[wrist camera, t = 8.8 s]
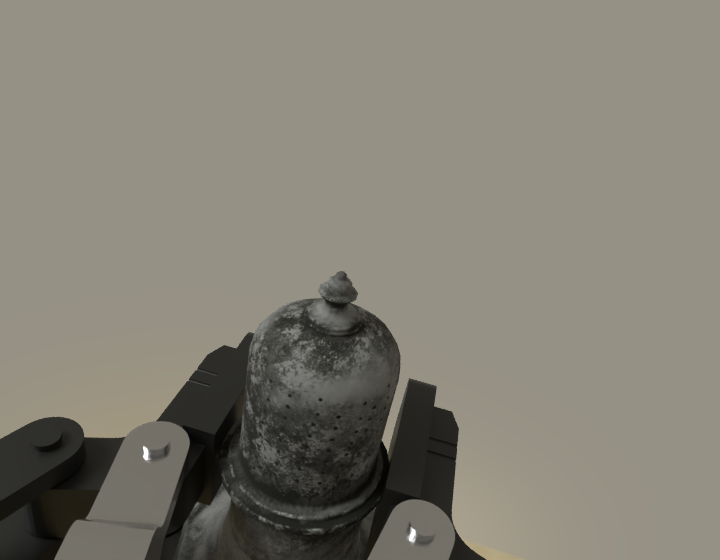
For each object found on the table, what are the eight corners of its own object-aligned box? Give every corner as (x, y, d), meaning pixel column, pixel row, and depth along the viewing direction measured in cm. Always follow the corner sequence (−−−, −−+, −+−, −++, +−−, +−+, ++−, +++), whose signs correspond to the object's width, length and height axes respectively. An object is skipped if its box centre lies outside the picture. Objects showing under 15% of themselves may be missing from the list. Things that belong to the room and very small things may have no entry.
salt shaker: (165, 551, 17) (165, 190, 11) (348, 529, 19) (436, 208, 13) (155, 800, 12) (146, 403, 6) (402, 738, 14) (583, 384, 8)
